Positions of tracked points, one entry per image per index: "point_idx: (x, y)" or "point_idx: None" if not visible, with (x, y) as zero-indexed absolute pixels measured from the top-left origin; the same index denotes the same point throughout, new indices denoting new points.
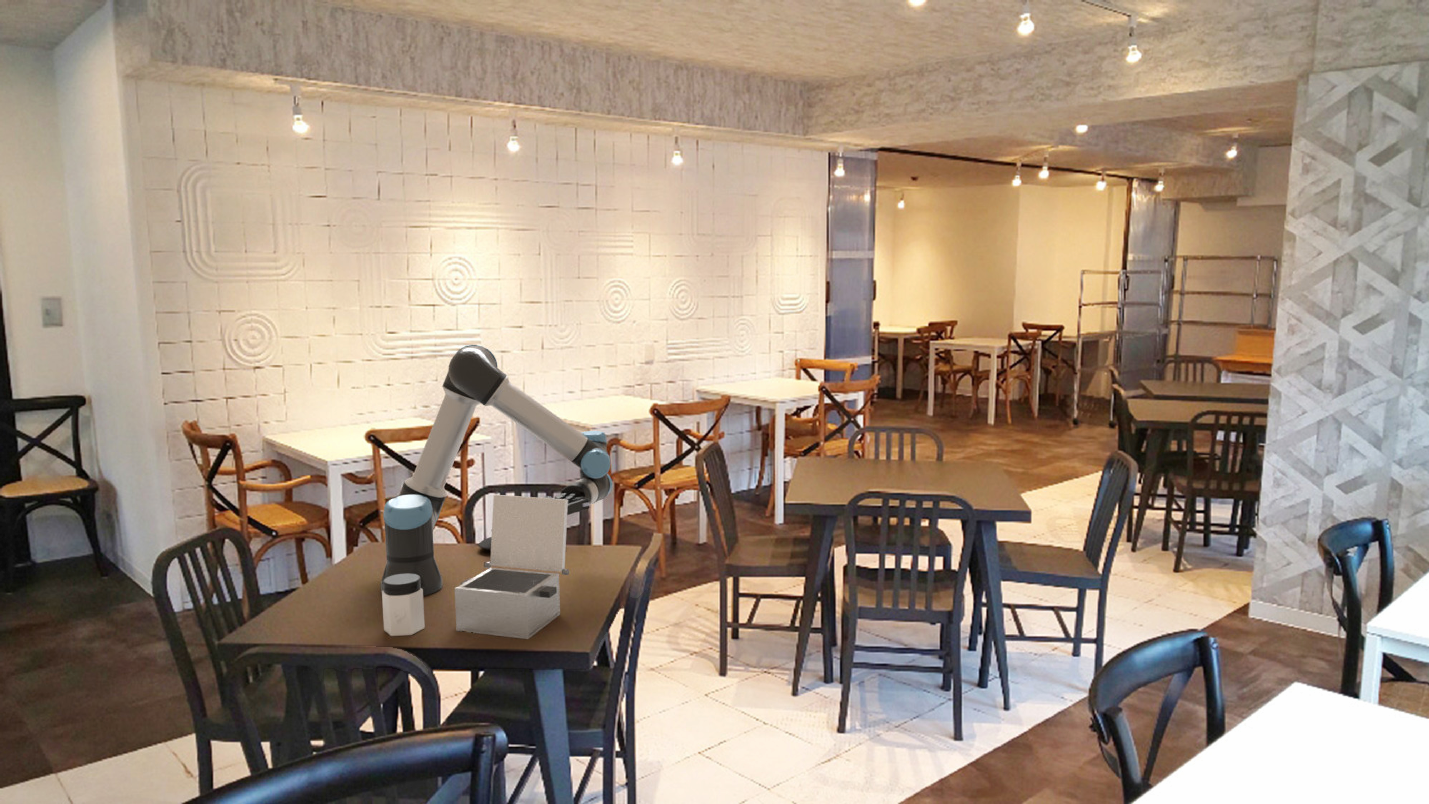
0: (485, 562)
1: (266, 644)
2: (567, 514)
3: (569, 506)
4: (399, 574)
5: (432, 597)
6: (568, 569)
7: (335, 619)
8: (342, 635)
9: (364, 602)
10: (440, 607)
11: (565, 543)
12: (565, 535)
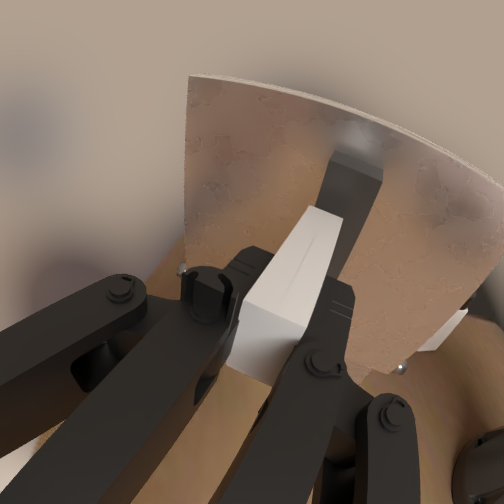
0: (405, 360)
1: (486, 318)
2: (101, 347)
3: (58, 312)
4: (472, 294)
5: (448, 451)
6: (179, 266)
7: (489, 367)
8: (457, 328)
9: (499, 418)
10: (419, 409)
11: (185, 224)
12: (187, 201)
